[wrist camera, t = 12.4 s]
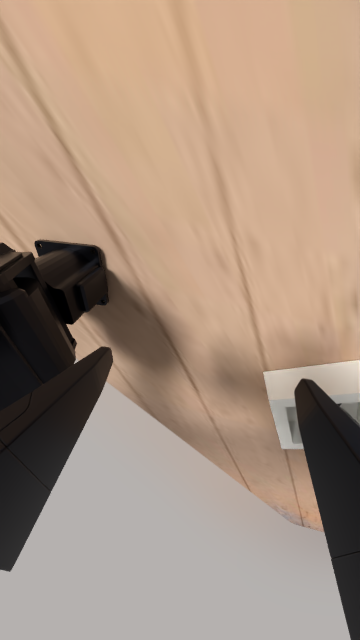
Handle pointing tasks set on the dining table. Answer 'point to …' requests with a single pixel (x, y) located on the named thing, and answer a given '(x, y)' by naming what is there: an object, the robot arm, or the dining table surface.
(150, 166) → the dining table surface
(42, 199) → the dining table surface
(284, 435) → the tagged holder
